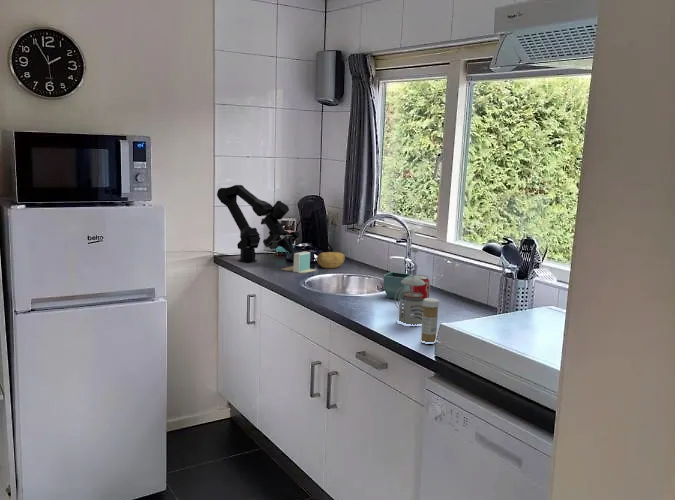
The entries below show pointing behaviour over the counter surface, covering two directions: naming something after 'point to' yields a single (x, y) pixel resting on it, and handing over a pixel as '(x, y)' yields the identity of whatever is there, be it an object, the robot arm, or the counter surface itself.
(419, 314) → the french press
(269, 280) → the counter surface
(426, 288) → the soda can
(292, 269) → the board
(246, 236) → the robot arm
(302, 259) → the tile
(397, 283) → the flower pot
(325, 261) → the potato
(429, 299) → the sprinkles bottle
